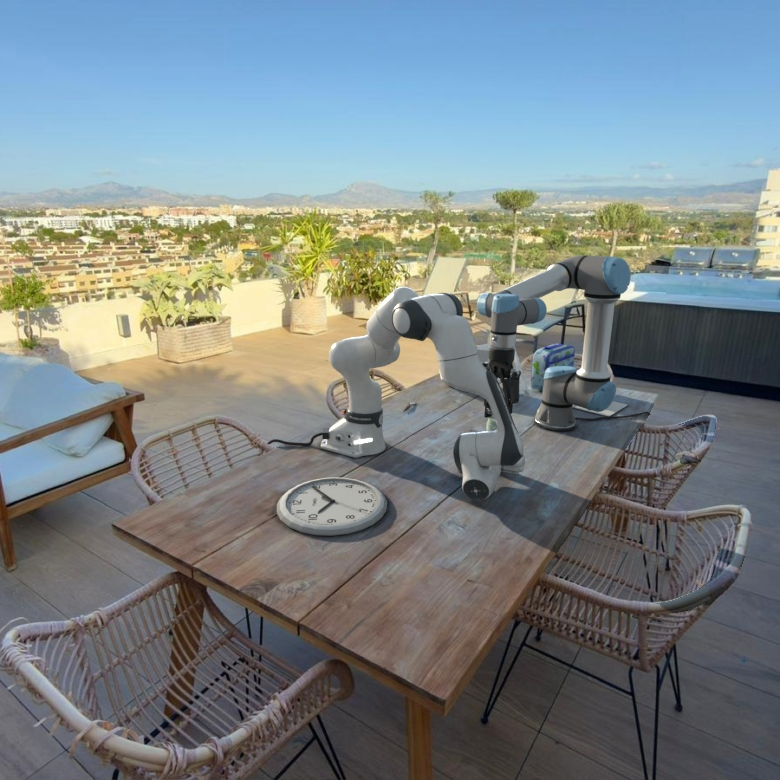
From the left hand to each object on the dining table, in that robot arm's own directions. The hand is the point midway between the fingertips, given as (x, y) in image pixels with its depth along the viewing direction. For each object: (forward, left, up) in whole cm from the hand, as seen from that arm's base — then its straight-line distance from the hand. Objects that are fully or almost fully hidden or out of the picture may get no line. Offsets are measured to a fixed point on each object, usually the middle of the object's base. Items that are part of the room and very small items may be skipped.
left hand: (494, 448), depth 165 cm
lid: (0, -1, +14) cm, 14 cm away
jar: (0, -1, -6) cm, 6 cm away
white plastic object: (-19, +78, -6) cm, 80 cm away
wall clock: (-37, -41, -6) cm, 55 cm away
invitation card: (+34, +78, -6) cm, 85 cm away
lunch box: (+12, +98, -6) cm, 99 cm away
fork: (-43, +45, -6) cm, 63 cm away
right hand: (0, -1, +10) cm, 10 cm away
